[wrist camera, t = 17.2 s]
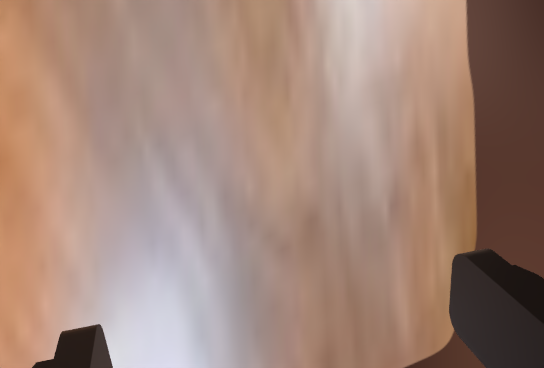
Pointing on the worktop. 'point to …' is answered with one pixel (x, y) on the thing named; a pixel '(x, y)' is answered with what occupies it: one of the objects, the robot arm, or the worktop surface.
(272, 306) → the worktop surface
